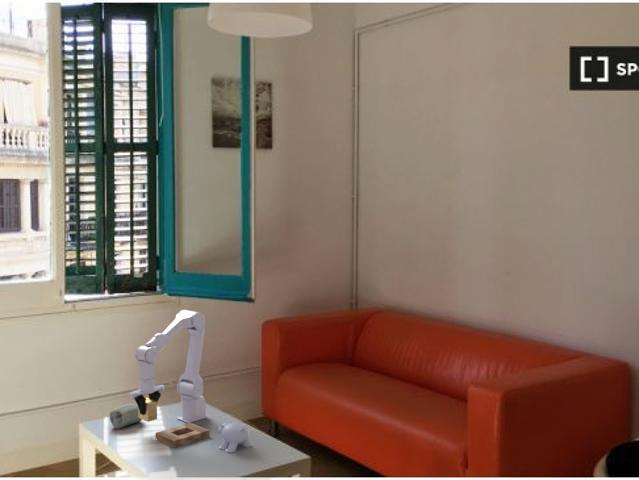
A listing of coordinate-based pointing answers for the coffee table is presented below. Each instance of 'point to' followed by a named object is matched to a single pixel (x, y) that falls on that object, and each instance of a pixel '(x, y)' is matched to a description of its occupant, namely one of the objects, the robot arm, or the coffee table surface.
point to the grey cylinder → (124, 415)
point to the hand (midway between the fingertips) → (147, 412)
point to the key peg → (149, 410)
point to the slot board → (182, 434)
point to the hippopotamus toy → (233, 436)
